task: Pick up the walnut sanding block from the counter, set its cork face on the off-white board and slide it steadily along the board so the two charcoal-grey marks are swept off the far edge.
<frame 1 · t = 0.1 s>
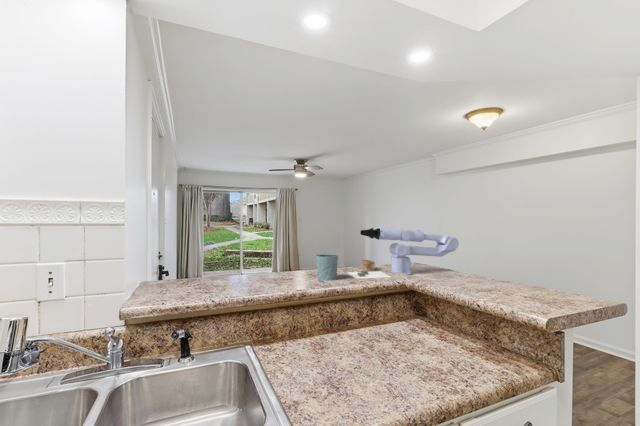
hand: (362, 232, 153), 22 cm above the worktop, tool horizontal, fingers open, 7 cm apart
teal pot: (326, 281, 137), on the worktop
board: (368, 277, 146), on the worktop
mark b: (361, 275, 144), point 1 cm above the worktop, touching board
mark a: (364, 273, 149), point 1 cm above the worktop, touching board
sanding block: (367, 272, 161), on the worktop
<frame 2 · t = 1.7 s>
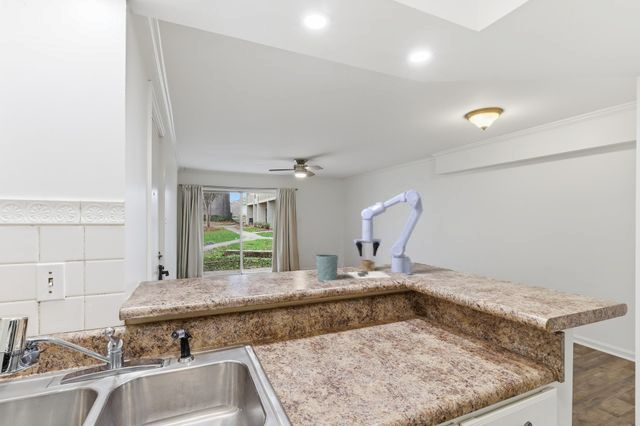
hand: (367, 256, 161), 8 cm above the worktop, tool pointing down, fingers open, 7 cm apart
nothing on the worktop moved.
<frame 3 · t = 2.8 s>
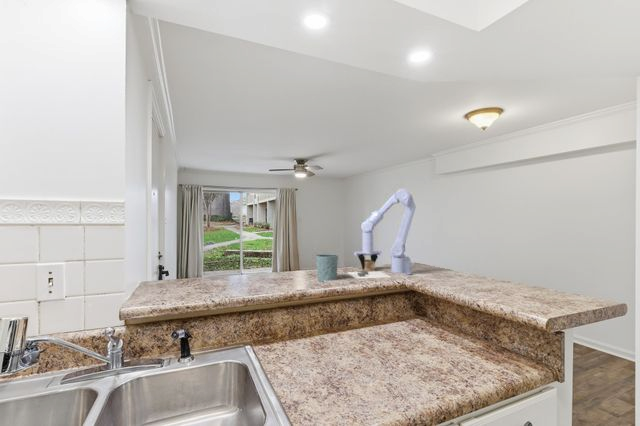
hand: (367, 268, 161), 2 cm above the worktop, tool pointing down, fingers closed on sanding block, 4 cm apart
sanding block: (367, 272, 161), on the worktop, touching gripper
everything else where it was.
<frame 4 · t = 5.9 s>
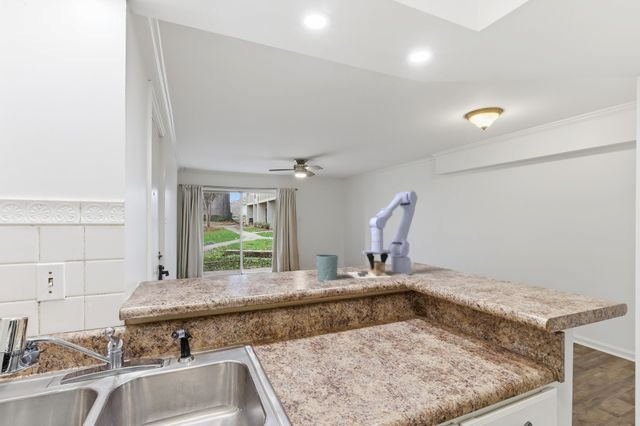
hand: (377, 268, 147), 4 cm above the worktop, tool pointing down, fingers closed on sanding block, 4 cm apart
sanding block: (377, 274, 147), point 1 cm above the worktop, touching board, gripper
everything else where it was.
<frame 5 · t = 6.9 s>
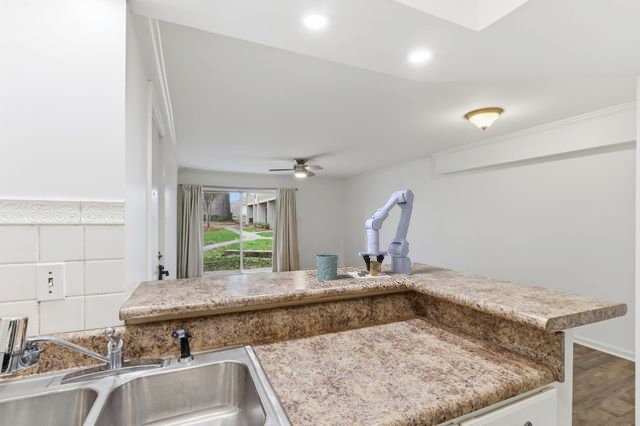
hand: (373, 270, 147), 3 cm above the worktop, tool pointing down, fingers closed on sanding block, 4 cm apart
sanding block: (373, 274, 147), point 1 cm above the worktop, touching gripper
everything else where it was.
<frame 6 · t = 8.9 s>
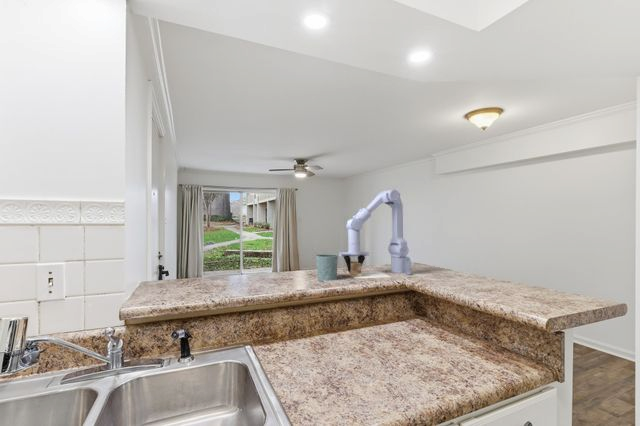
hand: (354, 271, 145), 3 cm above the worktop, tool pointing down, fingers closed on sanding block, 4 cm apart
mark b: (349, 279, 143), on the worktop
mark a: (346, 277, 147), on the worktop
sanding block: (354, 274, 146), point 1 cm above the worktop, touching board, gripper
everything else where it was.
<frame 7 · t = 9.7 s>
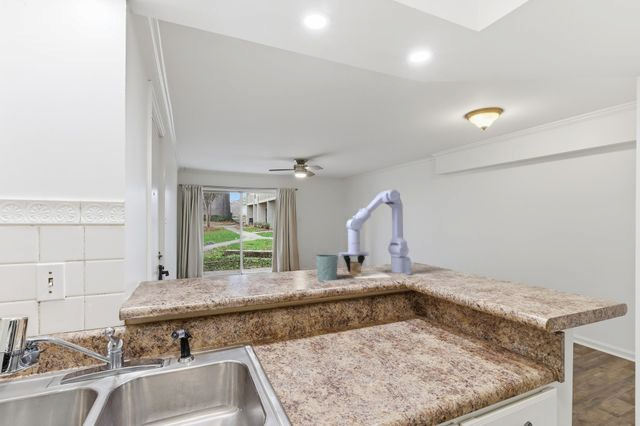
hand: (354, 271, 145), 3 cm above the worktop, tool pointing down, fingers closed on sanding block, 4 cm apart
sanding block: (353, 274, 146), point 1 cm above the worktop, touching board, gripper
everything else where it was.
when the fingers open (3 cm above the worktop, at t = 11.1 s): sanding block stays where it is, resting on board.
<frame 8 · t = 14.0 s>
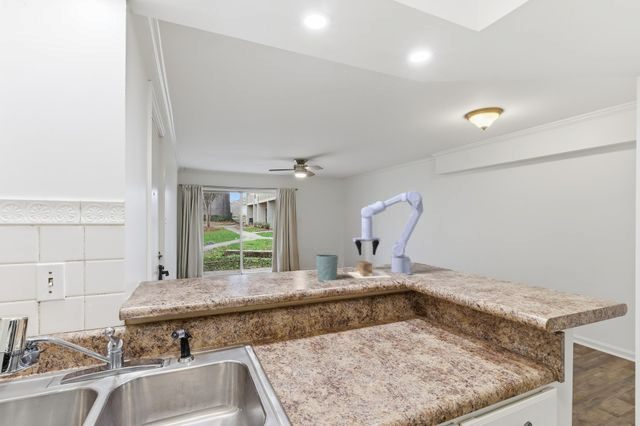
hand: (367, 254, 159), 9 cm above the worktop, tool pointing down, fingers open, 7 cm apart
sanding block: (364, 274, 147), point 1 cm above the worktop, touching board
everything else where it was.
at the end: mark a touching worktop; mark b touching worktop; sanding block touching board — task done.
